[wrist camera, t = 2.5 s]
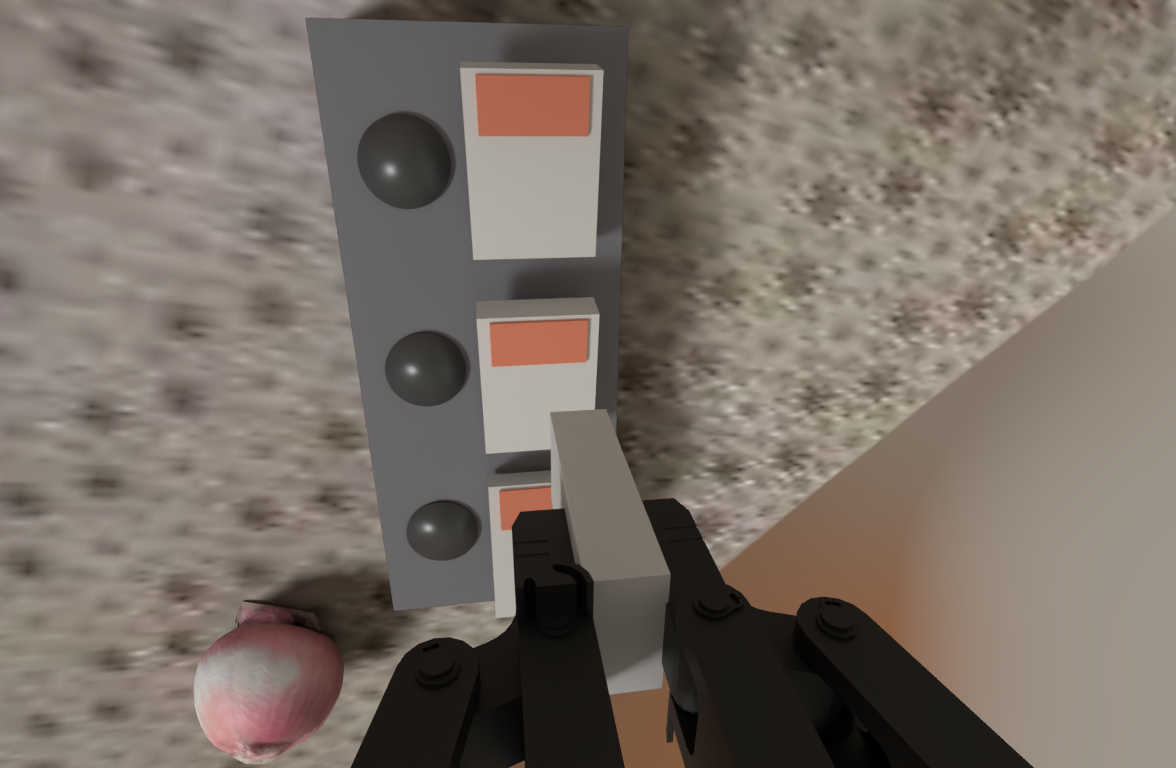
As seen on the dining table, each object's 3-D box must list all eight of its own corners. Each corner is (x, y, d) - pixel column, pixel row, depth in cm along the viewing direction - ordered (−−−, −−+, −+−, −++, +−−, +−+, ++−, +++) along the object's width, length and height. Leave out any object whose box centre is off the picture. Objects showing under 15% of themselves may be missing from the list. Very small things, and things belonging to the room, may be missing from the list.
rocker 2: (485, 432, 30) (486, 455, 29) (476, 301, 27) (476, 320, 25) (588, 425, 31) (593, 448, 30) (593, 297, 27) (600, 315, 26)
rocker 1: (473, 245, 27) (473, 261, 25) (460, 61, 23) (459, 68, 22) (589, 242, 28) (595, 258, 26) (596, 64, 24) (604, 70, 22)
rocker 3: (495, 599, 33) (496, 619, 31) (488, 475, 31) (488, 488, 30) (590, 590, 34) (595, 609, 32) (587, 467, 32) (592, 480, 30)
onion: (296, 685, 42) (223, 798, 35) (216, 604, 39) (122, 710, 33) (386, 660, 39) (323, 779, 33) (305, 571, 36) (220, 681, 30)
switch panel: (402, 562, 38) (393, 613, 34) (329, 29, 27) (304, 16, 23) (599, 544, 40) (612, 591, 36) (609, 36, 28) (629, 26, 25)
